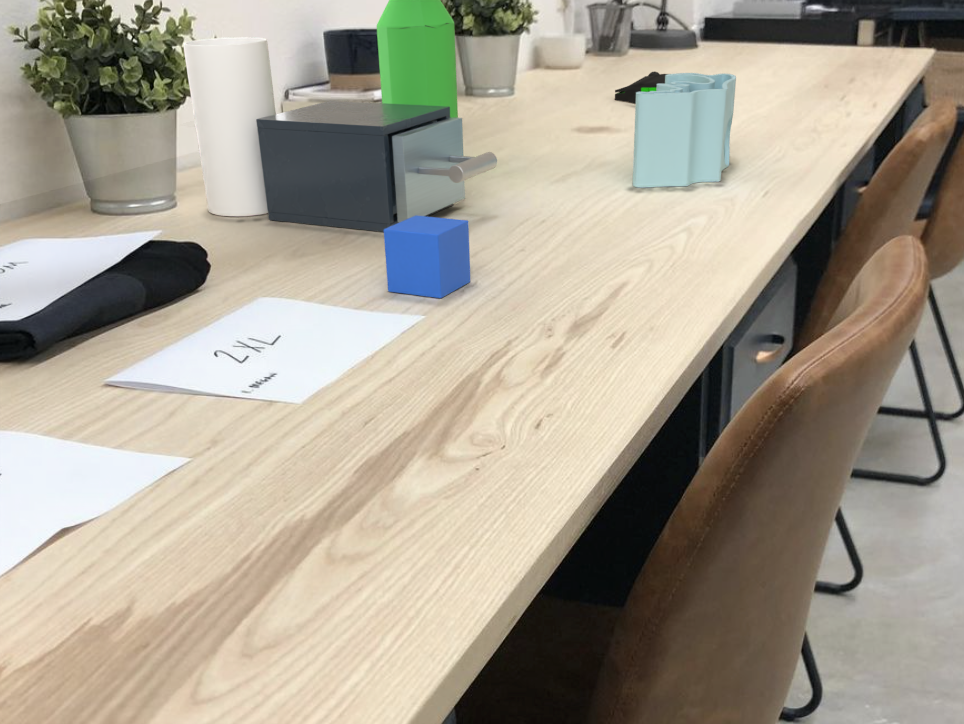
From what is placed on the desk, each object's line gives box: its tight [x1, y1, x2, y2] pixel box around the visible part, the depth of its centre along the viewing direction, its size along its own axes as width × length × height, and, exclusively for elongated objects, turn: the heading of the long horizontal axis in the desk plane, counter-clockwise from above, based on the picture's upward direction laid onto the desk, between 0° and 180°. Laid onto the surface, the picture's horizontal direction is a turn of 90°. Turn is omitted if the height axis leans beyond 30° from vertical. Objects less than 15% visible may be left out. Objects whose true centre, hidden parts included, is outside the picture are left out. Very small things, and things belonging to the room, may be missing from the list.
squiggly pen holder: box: [632, 72, 737, 189], centre depth 125 cm, size 18×10×9 cm, turn 166°
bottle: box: [376, 0, 459, 118], centre depth 128 cm, size 9×9×25 cm
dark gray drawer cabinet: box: [256, 100, 455, 233], centre depth 112 cm, size 15×13×10 cm
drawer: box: [387, 117, 498, 222], centre depth 110 cm, size 18×11×8 cm, turn 62°
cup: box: [182, 36, 277, 217], centre depth 114 cm, size 8×8×16 cm
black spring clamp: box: [614, 71, 668, 105], centre depth 174 cm, size 11×16×4 cm
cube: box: [383, 216, 471, 299], centre depth 90 cm, size 5×5×5 cm
